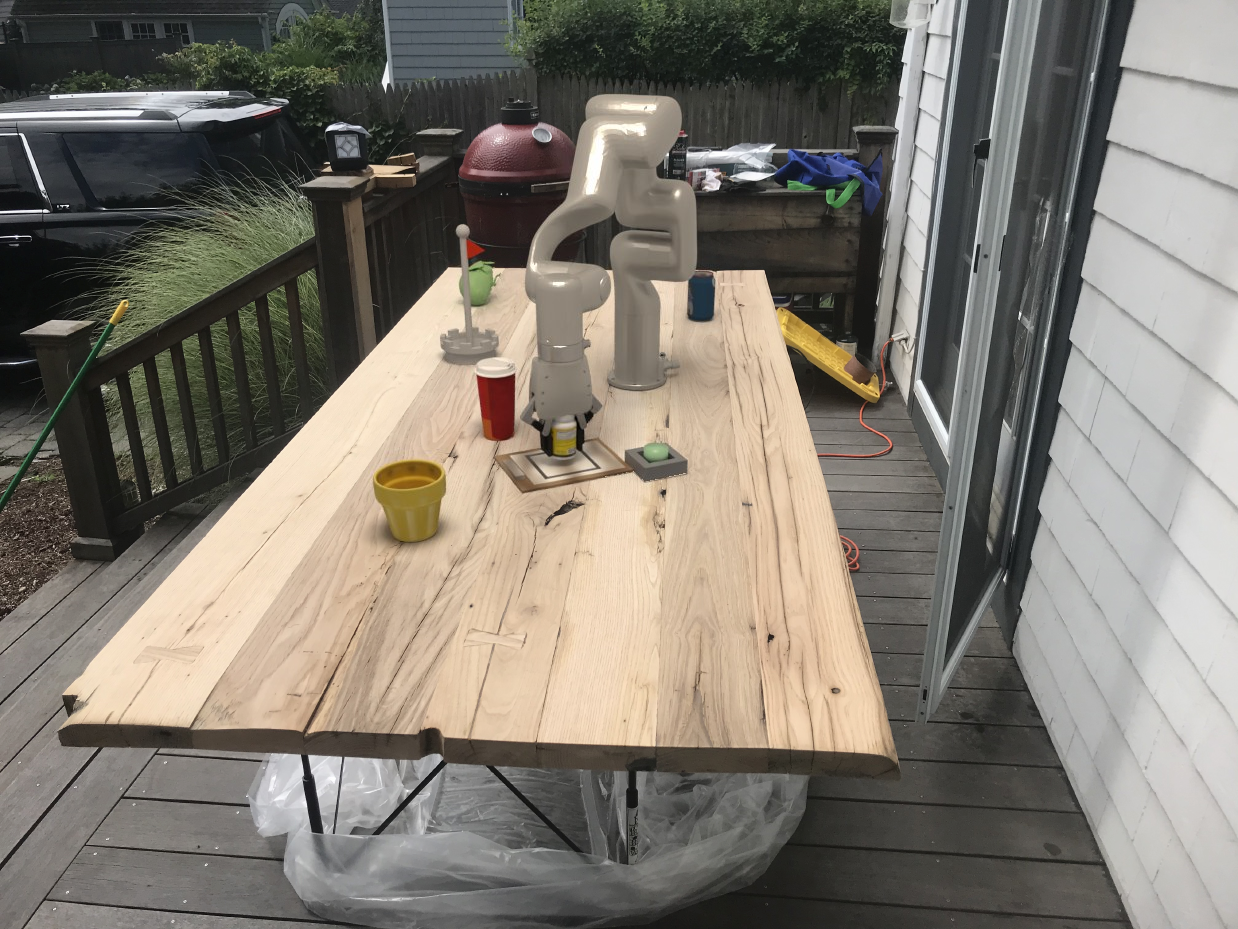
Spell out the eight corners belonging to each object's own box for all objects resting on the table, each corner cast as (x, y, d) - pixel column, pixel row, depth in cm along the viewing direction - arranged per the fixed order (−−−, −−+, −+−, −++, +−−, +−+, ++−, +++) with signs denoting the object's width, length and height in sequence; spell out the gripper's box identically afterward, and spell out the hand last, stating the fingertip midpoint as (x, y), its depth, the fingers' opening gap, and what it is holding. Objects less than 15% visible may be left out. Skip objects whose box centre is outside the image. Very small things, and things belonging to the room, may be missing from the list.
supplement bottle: (548, 449, 166) (548, 404, 162) (575, 449, 166) (576, 404, 163) (548, 460, 161) (549, 414, 158) (576, 460, 162) (577, 414, 158)
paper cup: (526, 430, 178) (523, 359, 172) (509, 445, 172) (505, 372, 166) (488, 424, 180) (484, 354, 174) (470, 439, 174) (465, 367, 168)
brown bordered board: (598, 439, 174) (598, 433, 174) (633, 471, 162) (633, 465, 161) (493, 458, 167) (493, 451, 166) (522, 493, 154) (522, 486, 154)
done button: (661, 454, 165) (661, 440, 164) (672, 464, 161) (672, 450, 160) (639, 458, 163) (639, 445, 162) (650, 468, 160) (650, 454, 159)
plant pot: (416, 556, 136) (410, 495, 132) (364, 537, 141) (357, 478, 137) (463, 526, 144) (459, 468, 140) (413, 509, 149) (407, 453, 145)
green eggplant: (499, 309, 252) (497, 268, 247) (457, 309, 252) (455, 268, 247) (505, 297, 263) (503, 258, 258) (465, 297, 263) (462, 257, 258)
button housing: (665, 456, 168) (666, 442, 167) (687, 473, 161) (687, 460, 160) (624, 463, 165) (624, 450, 164) (644, 482, 158) (645, 468, 157)
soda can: (718, 317, 246) (720, 272, 241) (705, 324, 240) (708, 277, 235) (694, 313, 249) (696, 268, 244) (681, 320, 244) (683, 273, 239)
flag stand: (430, 362, 213) (419, 227, 200) (460, 346, 224) (451, 216, 211) (481, 370, 208) (473, 232, 196) (509, 353, 219) (503, 221, 207)
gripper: (598, 337, 162) (599, 435, 170) (503, 350, 155) (508, 451, 163) (616, 350, 156) (616, 451, 164) (518, 364, 149) (523, 468, 157)
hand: (562, 450), depth 163 cm, fingers closed on supplement bottle, 4 cm apart
